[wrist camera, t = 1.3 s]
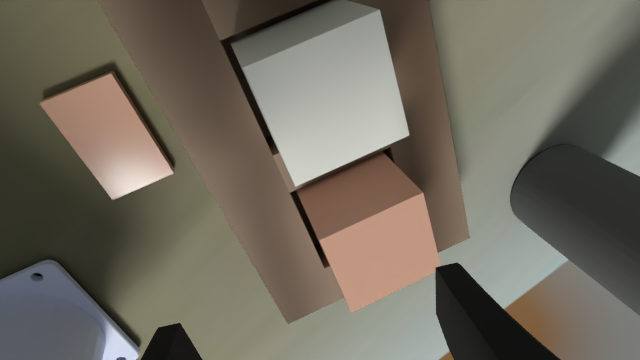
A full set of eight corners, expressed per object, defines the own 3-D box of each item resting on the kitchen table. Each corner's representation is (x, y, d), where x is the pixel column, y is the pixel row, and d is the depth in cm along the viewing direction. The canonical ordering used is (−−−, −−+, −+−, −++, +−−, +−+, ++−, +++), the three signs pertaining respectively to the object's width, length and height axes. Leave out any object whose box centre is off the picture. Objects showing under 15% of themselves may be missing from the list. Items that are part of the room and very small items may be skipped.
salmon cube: (325, 256, 21) (351, 312, 18) (295, 189, 19) (319, 240, 16) (401, 220, 22) (441, 269, 18) (381, 150, 19) (423, 192, 16)
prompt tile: (114, 194, 19) (112, 200, 19) (42, 99, 17) (39, 103, 16) (174, 168, 20) (173, 173, 19) (113, 70, 17) (111, 73, 17)
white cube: (274, 142, 18) (295, 186, 14) (230, 42, 15) (242, 67, 12) (367, 101, 18) (409, 135, 15) (338, -3, 16) (379, 9, 12)
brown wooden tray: (277, 286, 25) (288, 324, 22) (-28, -254, 12) (-85, -309, 10) (441, 209, 26) (469, 237, 23) (317, -374, 13) (349, -455, 10)
